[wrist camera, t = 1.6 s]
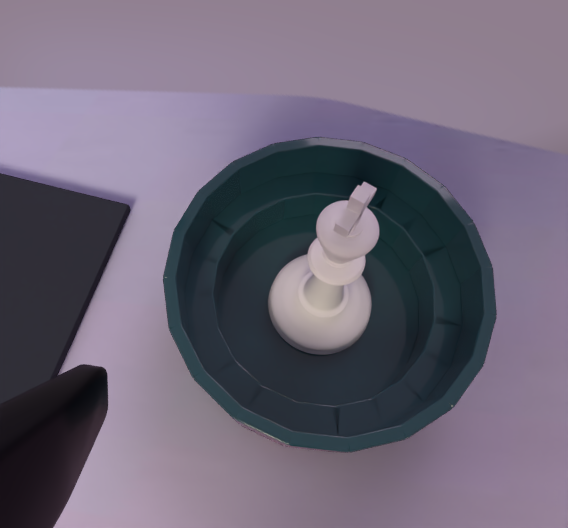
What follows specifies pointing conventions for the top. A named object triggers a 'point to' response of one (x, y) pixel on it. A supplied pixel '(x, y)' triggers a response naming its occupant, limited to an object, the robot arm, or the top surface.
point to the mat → (47, 274)
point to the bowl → (377, 273)
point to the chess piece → (328, 280)
